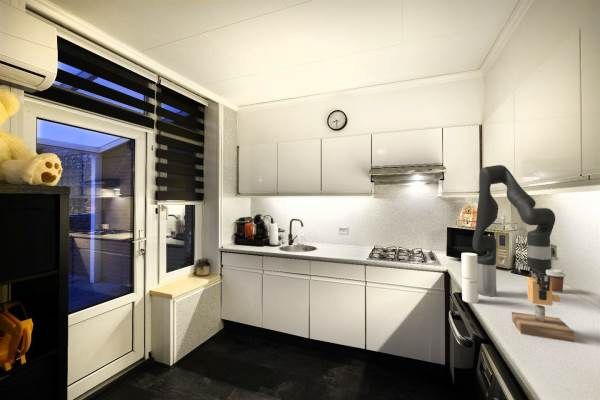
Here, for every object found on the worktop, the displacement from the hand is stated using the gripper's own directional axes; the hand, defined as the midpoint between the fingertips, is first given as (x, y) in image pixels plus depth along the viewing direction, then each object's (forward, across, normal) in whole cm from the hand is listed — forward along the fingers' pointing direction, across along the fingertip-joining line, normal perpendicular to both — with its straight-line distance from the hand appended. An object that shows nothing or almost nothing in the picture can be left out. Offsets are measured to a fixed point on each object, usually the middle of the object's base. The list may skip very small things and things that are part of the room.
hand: (539, 296), depth 109 cm
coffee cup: (+14, -59, +25) cm, 66 cm away
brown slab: (+14, 0, 0) cm, 14 cm away
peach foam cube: (+2, 0, +2) cm, 3 cm away
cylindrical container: (+14, -26, -21) cm, 36 cm away
